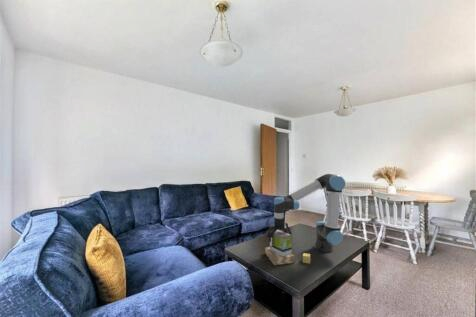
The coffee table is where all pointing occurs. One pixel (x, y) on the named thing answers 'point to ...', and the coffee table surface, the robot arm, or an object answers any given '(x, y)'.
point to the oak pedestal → (279, 257)
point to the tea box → (281, 243)
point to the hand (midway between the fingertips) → (279, 244)
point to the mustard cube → (306, 258)
